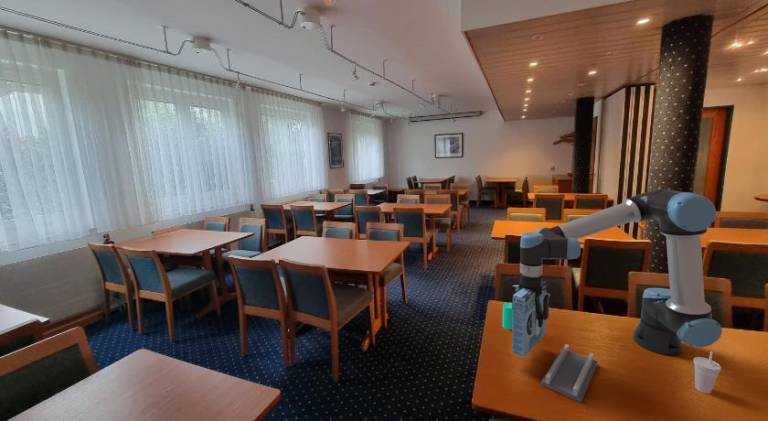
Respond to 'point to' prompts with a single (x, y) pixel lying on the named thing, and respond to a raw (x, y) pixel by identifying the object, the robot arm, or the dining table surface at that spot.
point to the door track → (570, 374)
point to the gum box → (526, 321)
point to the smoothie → (705, 373)
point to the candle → (507, 316)
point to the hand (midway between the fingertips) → (529, 330)
